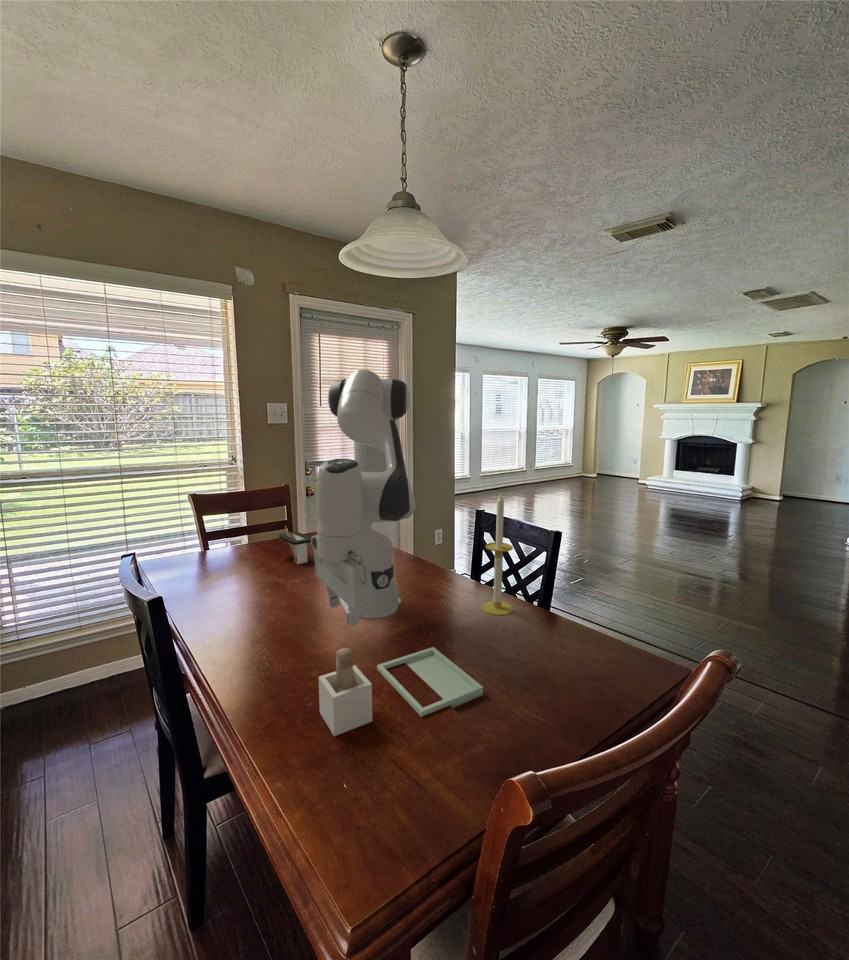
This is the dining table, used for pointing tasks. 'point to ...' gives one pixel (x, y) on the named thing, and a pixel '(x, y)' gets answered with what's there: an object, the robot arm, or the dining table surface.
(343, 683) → the dowel
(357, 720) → the cup
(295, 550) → the architectural model
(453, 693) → the tray
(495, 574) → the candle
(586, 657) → the dining table surface
